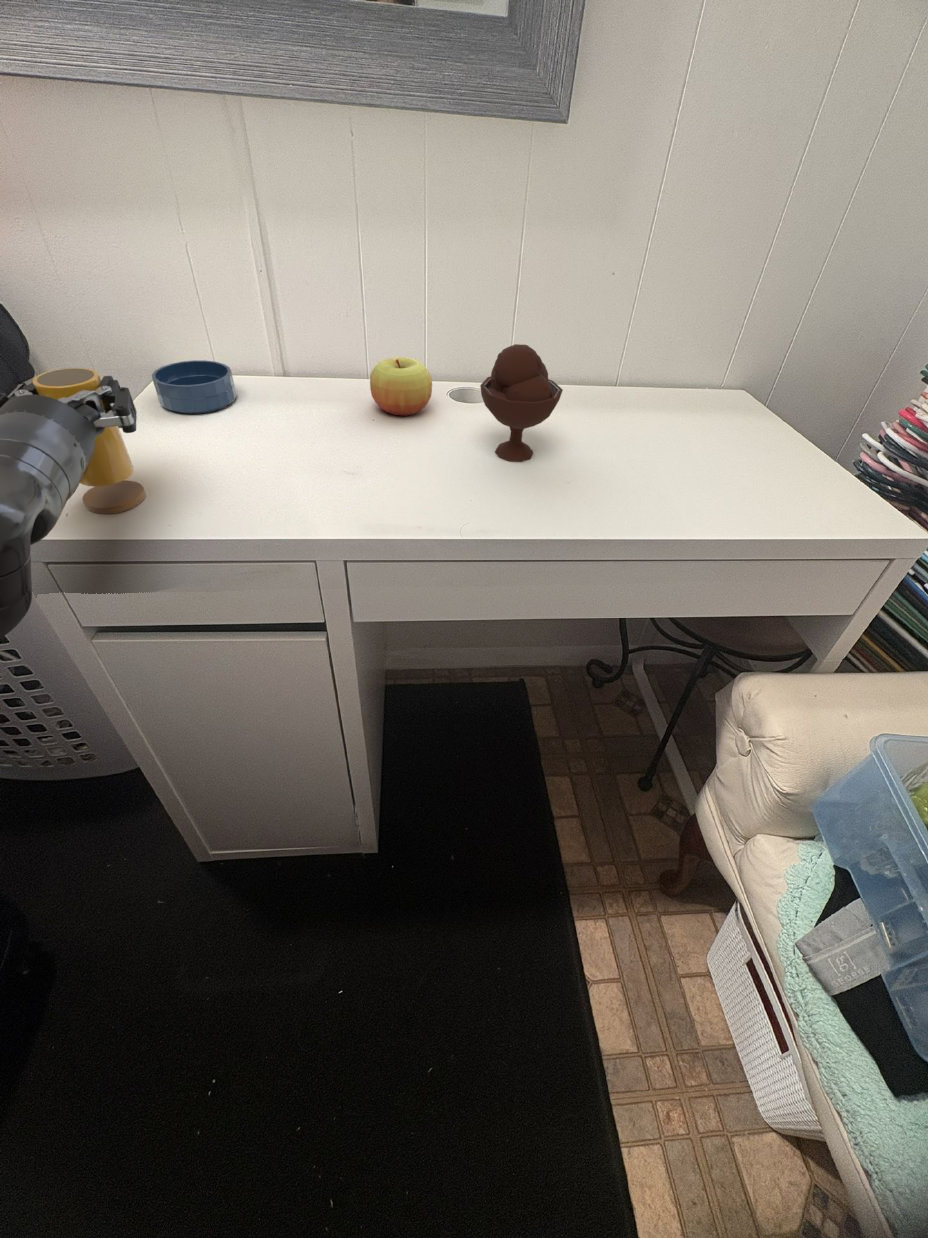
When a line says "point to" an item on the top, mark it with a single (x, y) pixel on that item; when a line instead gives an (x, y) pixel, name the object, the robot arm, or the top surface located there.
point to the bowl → (194, 386)
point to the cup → (109, 446)
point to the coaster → (114, 497)
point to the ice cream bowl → (519, 397)
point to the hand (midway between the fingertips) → (78, 386)
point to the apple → (401, 385)
